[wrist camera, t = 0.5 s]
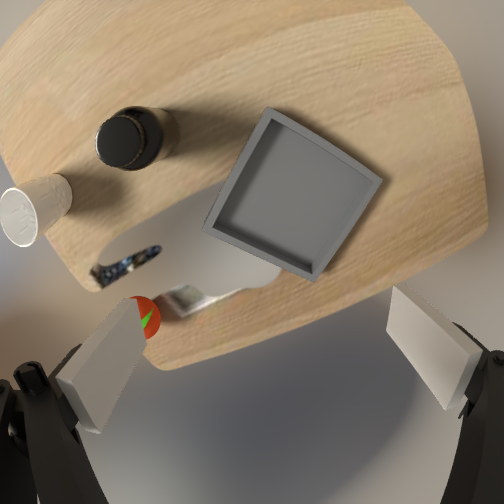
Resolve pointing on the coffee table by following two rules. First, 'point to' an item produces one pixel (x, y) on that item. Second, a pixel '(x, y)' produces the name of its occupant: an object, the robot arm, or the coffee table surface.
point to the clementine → (148, 315)
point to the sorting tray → (290, 197)
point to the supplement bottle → (136, 137)
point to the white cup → (34, 208)
